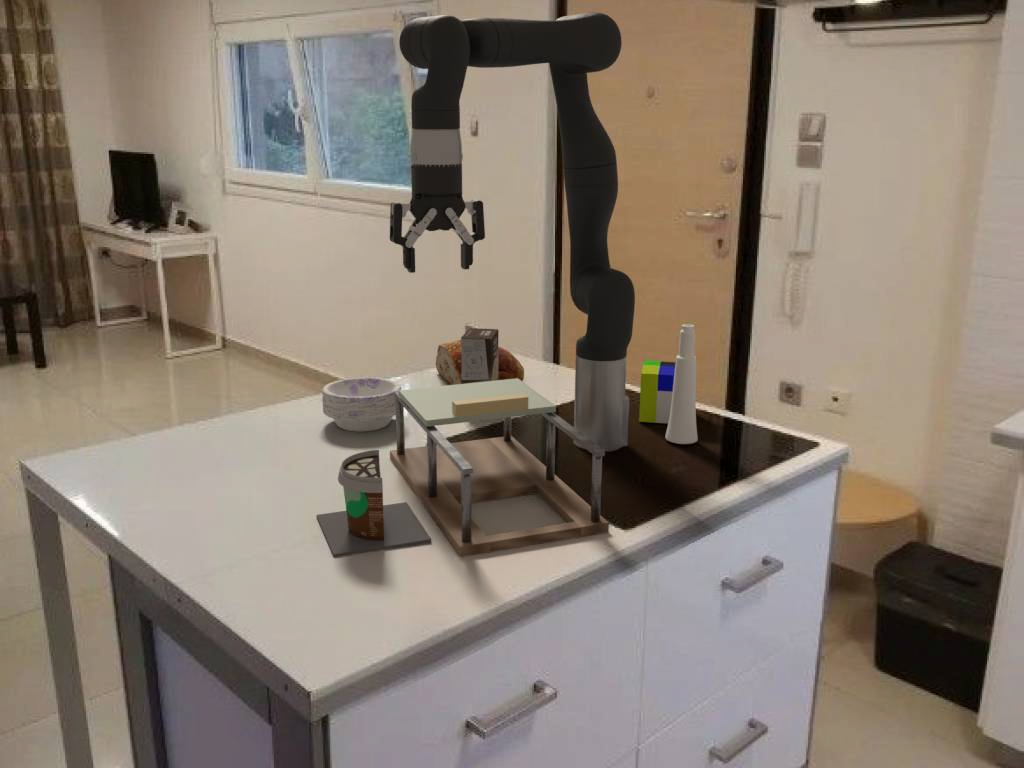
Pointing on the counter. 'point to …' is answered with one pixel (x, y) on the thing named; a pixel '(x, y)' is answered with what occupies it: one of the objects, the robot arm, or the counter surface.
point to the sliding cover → (475, 402)
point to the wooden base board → (494, 493)
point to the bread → (451, 363)
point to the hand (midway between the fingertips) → (438, 270)
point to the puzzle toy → (656, 391)
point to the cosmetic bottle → (684, 392)
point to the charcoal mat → (397, 533)
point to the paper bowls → (360, 403)
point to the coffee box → (479, 356)
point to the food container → (363, 495)
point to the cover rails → (467, 469)
